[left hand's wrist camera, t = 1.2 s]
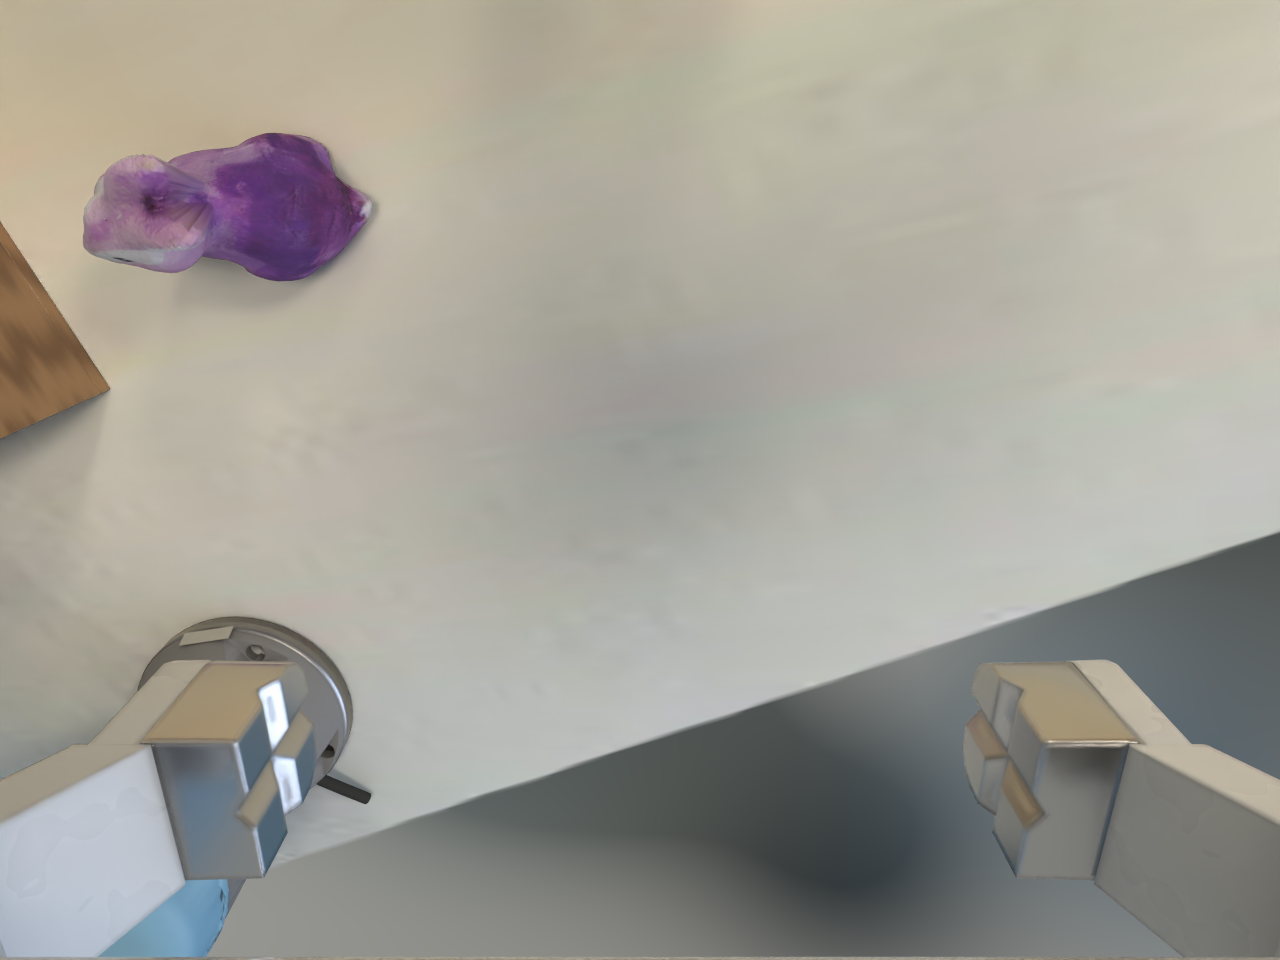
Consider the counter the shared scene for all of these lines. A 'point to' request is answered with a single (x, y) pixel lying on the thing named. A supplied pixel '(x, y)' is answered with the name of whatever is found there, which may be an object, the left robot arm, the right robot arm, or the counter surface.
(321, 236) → the figurine
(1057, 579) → the counter surface
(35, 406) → the cabinet
